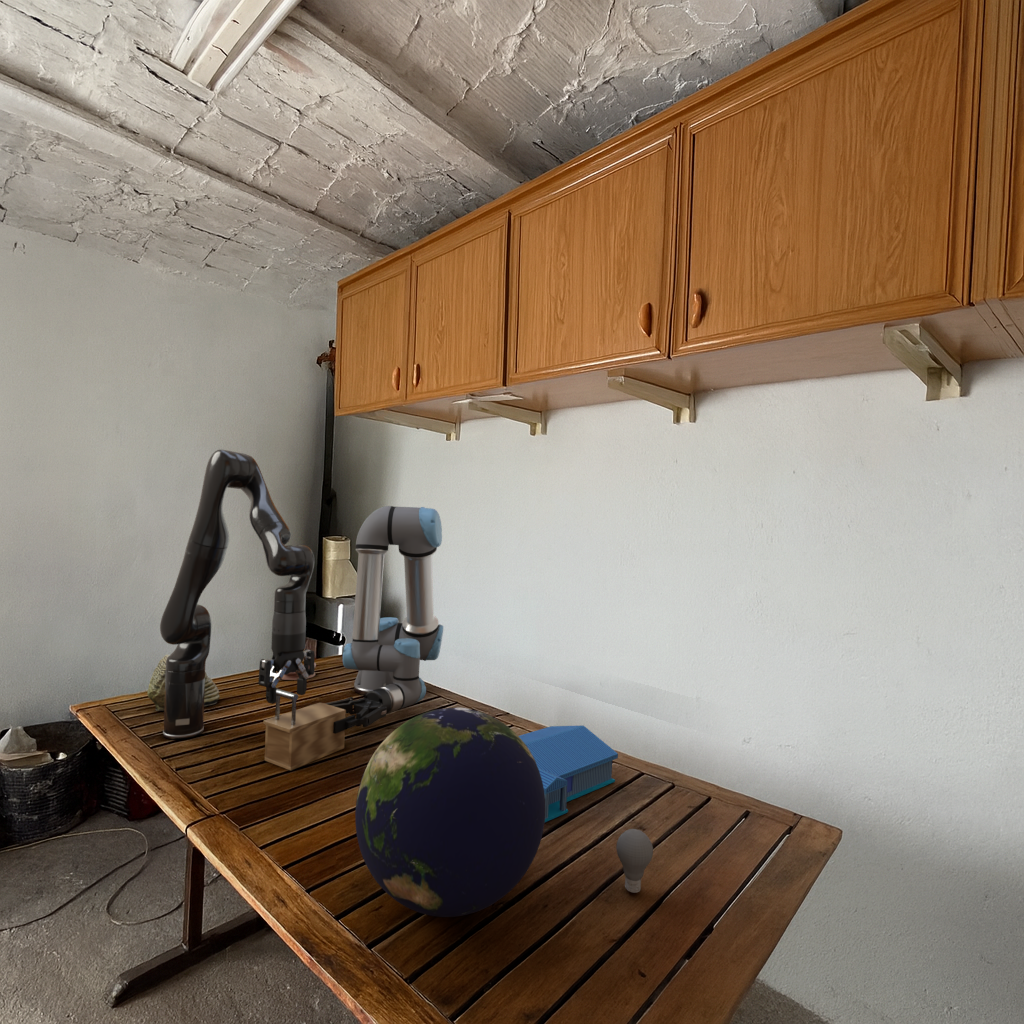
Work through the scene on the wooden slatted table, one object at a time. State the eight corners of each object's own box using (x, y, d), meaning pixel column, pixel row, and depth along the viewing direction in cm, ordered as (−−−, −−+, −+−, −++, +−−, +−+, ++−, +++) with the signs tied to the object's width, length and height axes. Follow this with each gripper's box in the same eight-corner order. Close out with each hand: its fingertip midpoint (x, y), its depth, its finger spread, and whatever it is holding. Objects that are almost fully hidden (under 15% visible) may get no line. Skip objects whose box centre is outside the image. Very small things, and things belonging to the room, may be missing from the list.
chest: (290, 770, 146) (292, 732, 145) (264, 760, 150) (265, 723, 150) (344, 748, 160) (345, 713, 160) (318, 739, 165) (320, 705, 164)
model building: (497, 843, 118) (499, 790, 118) (422, 794, 136) (424, 748, 136) (626, 786, 145) (628, 743, 144) (549, 751, 163) (551, 713, 163)
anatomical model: (267, 666, 215) (286, 658, 227) (267, 678, 215) (286, 669, 227) (303, 670, 213) (320, 662, 224) (303, 682, 213) (320, 673, 224)
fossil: (144, 707, 182) (145, 655, 182) (212, 696, 194) (213, 647, 194) (151, 716, 175) (153, 662, 175) (221, 703, 188) (223, 653, 188)
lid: (289, 733, 145) (290, 698, 145) (263, 724, 150) (264, 690, 150) (345, 713, 160) (346, 681, 159) (320, 705, 164) (321, 674, 164)
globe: (309, 928, 93) (317, 725, 93) (415, 832, 121) (421, 676, 120) (495, 996, 82) (506, 766, 81) (565, 873, 110) (572, 701, 109)
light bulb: (610, 879, 108) (613, 822, 108) (644, 879, 109) (647, 822, 109) (619, 902, 102) (622, 840, 102) (655, 901, 103) (658, 840, 103)
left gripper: (273, 637, 141) (271, 709, 141) (323, 627, 153) (321, 694, 153) (252, 632, 145) (250, 703, 145) (302, 623, 157) (300, 688, 157)
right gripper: (412, 723, 172) (351, 748, 153) (353, 706, 184) (290, 728, 164) (413, 695, 172) (352, 718, 153) (354, 680, 183) (291, 699, 164)
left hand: (286, 698), depth 149 cm, fingers open, 8 cm apart
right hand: (320, 723), depth 159 cm, fingers closed on chest, 9 cm apart
